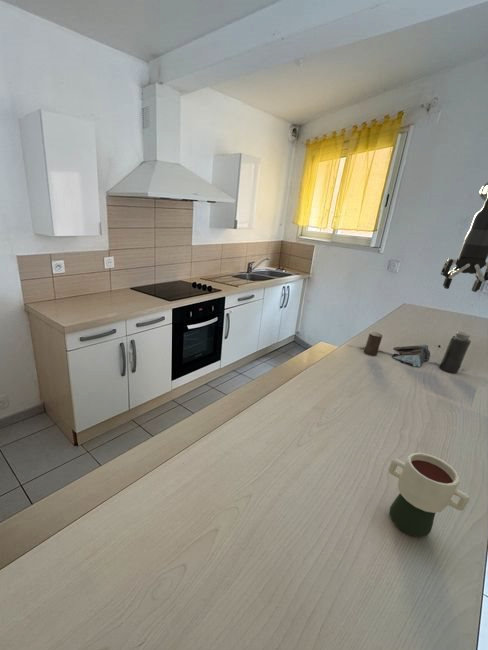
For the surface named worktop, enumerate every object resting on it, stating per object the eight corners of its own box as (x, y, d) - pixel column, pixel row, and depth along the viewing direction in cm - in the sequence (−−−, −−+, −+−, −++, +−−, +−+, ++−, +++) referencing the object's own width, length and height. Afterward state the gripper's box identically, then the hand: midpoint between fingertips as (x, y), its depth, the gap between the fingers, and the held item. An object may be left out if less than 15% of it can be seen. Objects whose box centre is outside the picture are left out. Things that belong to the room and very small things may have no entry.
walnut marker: (376, 352, 125) (382, 333, 122) (376, 356, 121) (382, 337, 118) (363, 349, 127) (369, 331, 124) (363, 354, 123) (369, 334, 120)
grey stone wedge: (383, 358, 122) (414, 347, 111) (390, 348, 125) (420, 337, 115) (400, 378, 121) (432, 369, 111) (406, 367, 125) (438, 358, 114)
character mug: (448, 531, 56) (478, 476, 51) (440, 559, 52) (472, 502, 47) (381, 492, 63) (401, 440, 58) (368, 514, 59) (389, 459, 54)
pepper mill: (455, 368, 115) (470, 332, 110) (459, 375, 111) (475, 337, 106) (438, 365, 117) (452, 329, 112) (440, 371, 113) (455, 334, 108)
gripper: (458, 242, 108) (441, 289, 114) (509, 246, 104) (489, 294, 110) (448, 240, 114) (433, 285, 121) (496, 243, 111) (478, 289, 117)
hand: (459, 289), depth 115 cm, fingers open, 8 cm apart
